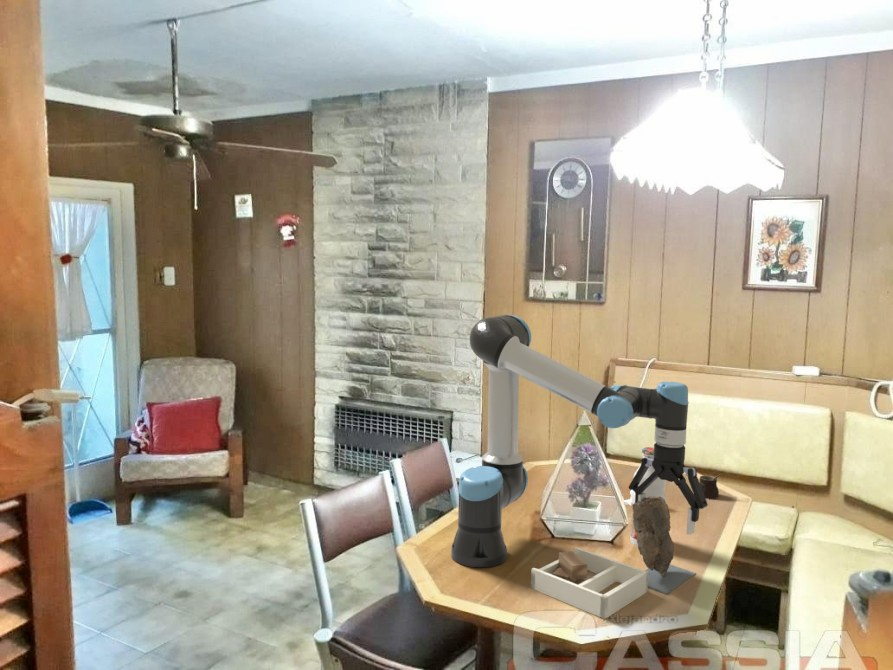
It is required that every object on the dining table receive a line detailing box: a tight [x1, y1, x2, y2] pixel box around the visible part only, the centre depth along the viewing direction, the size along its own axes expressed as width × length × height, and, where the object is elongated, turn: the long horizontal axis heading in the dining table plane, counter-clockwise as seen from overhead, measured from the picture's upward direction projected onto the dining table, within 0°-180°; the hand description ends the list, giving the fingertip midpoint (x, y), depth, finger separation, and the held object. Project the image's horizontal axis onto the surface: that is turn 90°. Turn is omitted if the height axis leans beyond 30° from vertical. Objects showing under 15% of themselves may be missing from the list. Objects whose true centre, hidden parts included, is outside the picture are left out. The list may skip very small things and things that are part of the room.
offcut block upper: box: [558, 550, 588, 580], centre depth 177 cm, size 4×8×4 cm, turn 15°
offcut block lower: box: [552, 567, 578, 583], centre depth 178 cm, size 4×8×4 cm, turn 147°
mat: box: [644, 564, 697, 595], centre depth 181 cm, size 10×16×1 cm, turn 135°
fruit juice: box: [629, 446, 668, 547], centre depth 202 cm, size 9×9×28 cm
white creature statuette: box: [624, 490, 633, 507], centre depth 232 cm, size 10×9×12 cm
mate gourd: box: [699, 473, 722, 500], centre depth 242 cm, size 7×8×10 cm
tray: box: [530, 546, 649, 620], centre depth 174 cm, size 21×19×5 cm
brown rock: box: [631, 496, 675, 577], centre depth 182 cm, size 14×5×20 cm, turn 135°
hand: (665, 525), depth 180 cm, fingers open, 13 cm apart
